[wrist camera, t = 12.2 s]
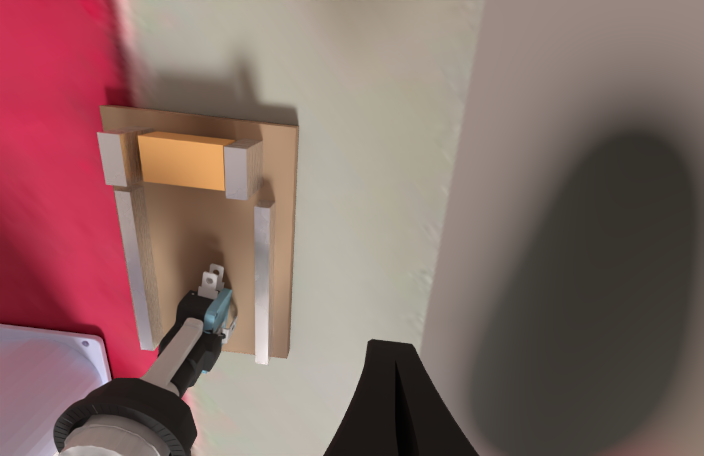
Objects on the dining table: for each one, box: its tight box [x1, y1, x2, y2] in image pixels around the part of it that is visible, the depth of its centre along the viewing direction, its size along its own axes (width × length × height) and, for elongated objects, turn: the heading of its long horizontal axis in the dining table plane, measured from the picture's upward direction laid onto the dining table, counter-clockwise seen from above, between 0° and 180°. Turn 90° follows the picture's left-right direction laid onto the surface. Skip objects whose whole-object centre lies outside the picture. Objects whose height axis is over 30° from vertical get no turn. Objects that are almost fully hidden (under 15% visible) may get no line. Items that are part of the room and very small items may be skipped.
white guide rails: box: [97, 126, 276, 364], centre depth 19 cm, size 8×14×3 cm, turn 174°
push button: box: [53, 263, 237, 456], centre depth 17 cm, size 7×5×10 cm
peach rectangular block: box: [138, 131, 235, 191], centre depth 17 cm, size 4×2×2 cm, turn 84°
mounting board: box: [99, 105, 299, 359], centre depth 21 cm, size 10×15×1 cm, turn 174°
